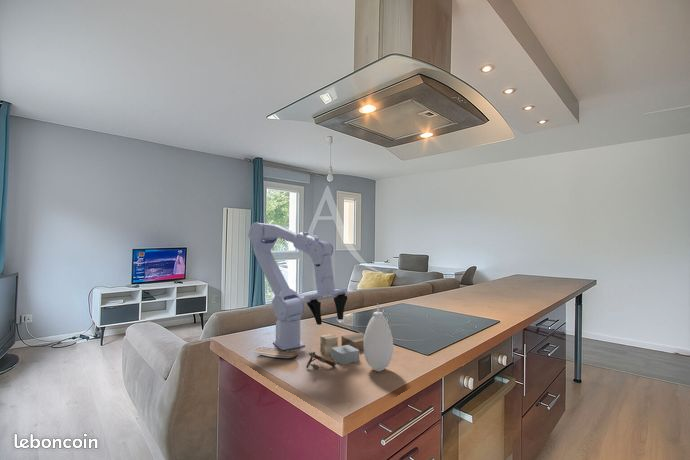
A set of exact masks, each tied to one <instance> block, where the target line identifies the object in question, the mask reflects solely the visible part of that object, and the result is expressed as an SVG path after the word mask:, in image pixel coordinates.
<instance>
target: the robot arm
mask: <svg viewBox="0 0 690 460" xmlns="http://www.w3.org/2000/svg"><path fill="white" fill-rule="evenodd" d="M248 238H249V240H250V243H251V244H252V250H253V254H254V256H255V258H256V259H257V263H258V264H259V266H260V268H261V270H262V272H263V274H264V276H265V278H266V281H267V283H268V285H269V288H271V291H272V292H273V294H274V295H273V298H272V300H271V304H272V306H273V312H274V313H273V314H274V315H275V317H276V318H277V320H276V322H275V340H272V343H273V344H274V345H275V346H276V347H278V348H279V349H280V350H282V351H285V350H290V349H291V350H292V349H296V348H301V347H305V346H306V345H305V343H303V342H302V341H301V318H302V314H303V313H304V312H305V309H306V305H307V306H308V308H309V309H310V311H311V312H312V314H313V317H314V320H315V322H316V325H319V326H321V325H322V324H323V323H322V314H321V313H322V312H321V306H322V305H321V304H322V302H321V301H320V300H324V299H330V298H333V302H334V304H335V308H336V309H335V310H336V317H337V320H341V321H342V320H344V312H345V306H346V303H347V300H348V295H349V291H348V288H341V289H340V288H339V289H336V285H335V279H334V271H333V263H332V262H333V261H332V255H333V253H334V246H333V244H332V243H331V242H330V241H328V240H326V239H325V240H320V237H318V236H316V237H315V236H312V235H309V232H307V231H303V232H298V233H296V232H294V231H292V230H289V229H288V228H286V227H284V226H281V225H279V224H276V223H264V222H263V223H262V222H257V221H256V222H253V223H252V224H251V226H250V227H249V231H248ZM278 239H282V240H284V241H287V242H289V243H292V245H293V247H294V248H295V249H297V250H299V251H300V252H303V253H305V254H307V255H309V256H310V258H311V260H312V264H313V268H314V269H313V270H314V276H315V284H316V285H315V286H316V293H312V294H308V295H307V294H306V295H304V296H303V298H304V299H303V298H302V297H300V295H299V294H298V292H297V291H296V290H294V289H292V288H290V286H289V284H288V282H287V281H286V279H285V277H284V275H283V273H282V271H281V268H280V266H279V265H278V263H277V261H276V259H275V257H274V256H273V253H272V250H273V248H274V247H275V245H276V243H277V241H278ZM305 303H306V304H305Z"/></svg>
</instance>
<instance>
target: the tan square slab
mask: <svg viewBox="0 0 690 460" xmlns="http://www.w3.org/2000/svg"><path fill="white" fill-rule="evenodd" d="M364 336H365V333H363V332H355V333H351V334H346V335H341V345H340V346H344V345H350V346H352V347H354V348H356V349H358V350H359V352H360V351H364V347H363V346H364Z"/></svg>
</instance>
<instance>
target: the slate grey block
mask: <svg viewBox="0 0 690 460" xmlns="http://www.w3.org/2000/svg"><path fill="white" fill-rule="evenodd" d="M330 356H331V359H332V361H334V360H335V361H336V363H338V364H339V365H341V366H343V365H347V364H351V363H355V362H359V361H360V351H359V350H358V349H356V348H354V347H352V346H350V345H344V346H342V345H340V346H339V345H338V347H334V348H331V355H330Z"/></svg>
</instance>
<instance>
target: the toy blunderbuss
mask: <svg viewBox="0 0 690 460" xmlns="http://www.w3.org/2000/svg"><path fill="white" fill-rule="evenodd" d="M308 356H309V357H310V358H309V360H308V361H307V363H306V366H305V367H306V369H309V367H312V368H313V369H315V370H319V369H320V366H319V365H318V364H315V363H312V362H313V361H316V360H318V361H320V362H321V363H325V364H327V365H329V366H330V367H332V369H335V368H336V365H337V362H336V361H335V360H329V359H326V358H324V357H323V356H320V355H318V354H316V352H315V351H313V352H312V351H311V352H308Z"/></svg>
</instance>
